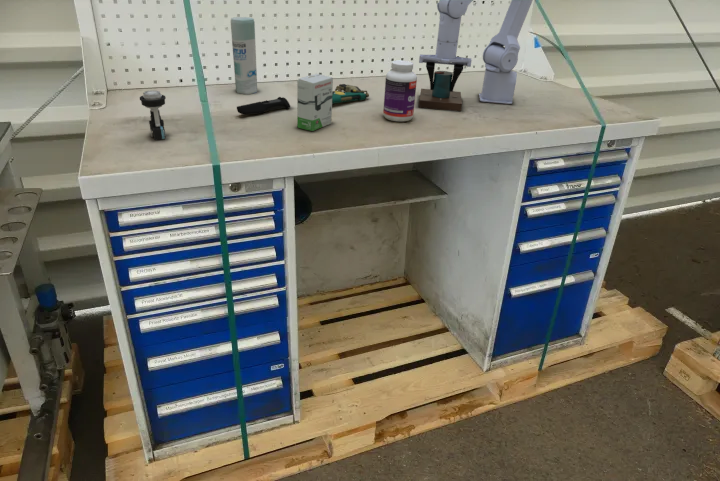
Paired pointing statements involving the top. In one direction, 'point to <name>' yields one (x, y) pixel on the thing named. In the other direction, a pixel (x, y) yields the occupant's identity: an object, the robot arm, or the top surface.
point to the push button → (154, 112)
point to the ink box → (314, 101)
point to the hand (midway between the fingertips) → (441, 89)
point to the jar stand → (440, 101)
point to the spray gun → (348, 94)
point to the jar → (442, 84)
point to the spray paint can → (244, 54)
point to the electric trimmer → (263, 106)
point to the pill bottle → (400, 92)
